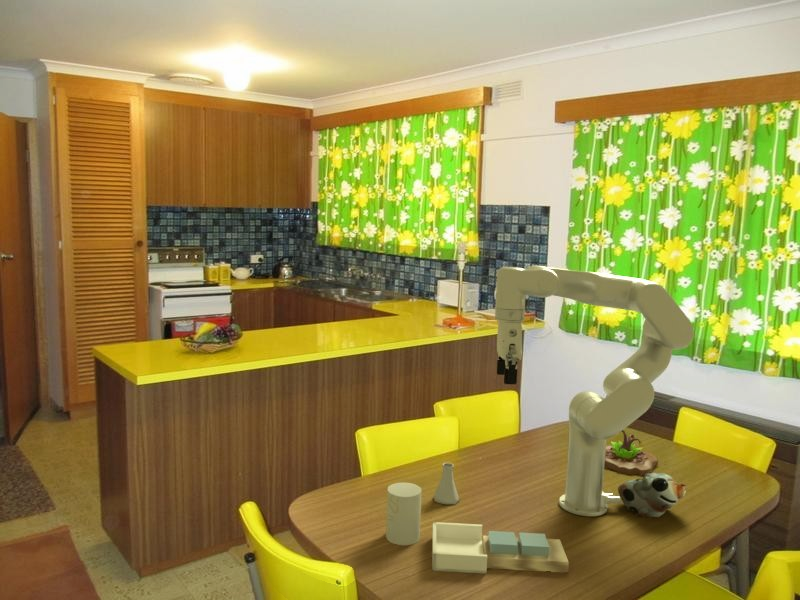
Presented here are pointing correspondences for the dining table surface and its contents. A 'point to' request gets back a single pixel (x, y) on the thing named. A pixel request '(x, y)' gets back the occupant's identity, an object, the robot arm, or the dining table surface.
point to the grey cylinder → (403, 513)
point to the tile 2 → (533, 544)
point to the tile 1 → (502, 542)
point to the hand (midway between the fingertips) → (506, 379)
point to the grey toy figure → (651, 494)
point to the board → (529, 558)
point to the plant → (629, 457)
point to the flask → (446, 487)
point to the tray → (458, 548)
